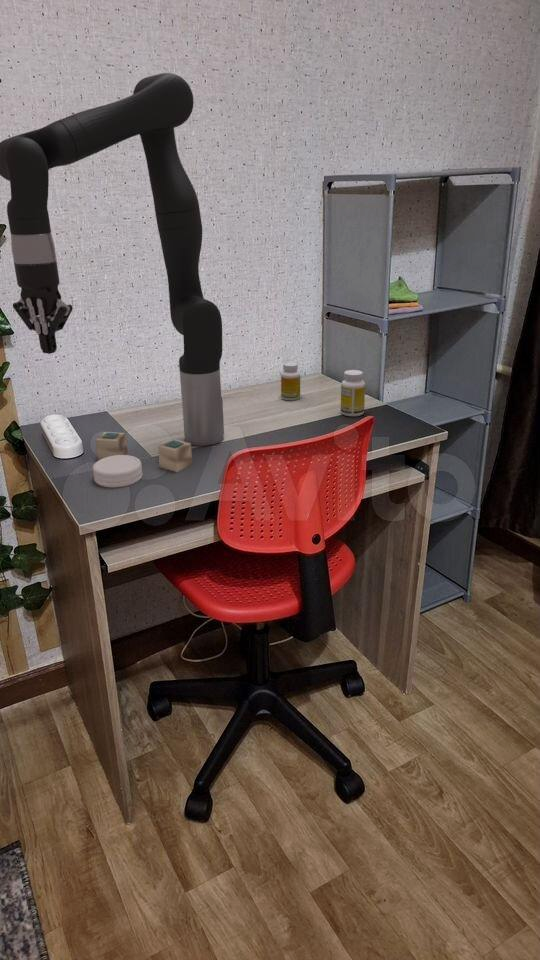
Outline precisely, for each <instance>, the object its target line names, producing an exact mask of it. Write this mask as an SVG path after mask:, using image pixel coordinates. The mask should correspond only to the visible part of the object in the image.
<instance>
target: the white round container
mask: <svg viewBox="0 0 540 960" xmlns="http://www.w3.org/2000/svg"><path fill="white" fill-rule="evenodd" d="M142 465H143V464H142V461H141V460H140V459H139V458H137V457H136V456H134V455H129V454H126V455H115V456H109V457H106V458H103V459H101V460H97V461H96V462H94V464H93V466H92V471H93V480H94V482H95V483H96V484H97V485H98V486H101V487H105V488H123V487H127V486H131V485H133V484H136V483H137V482H138V481H140V480H141V479H142V477H143V467H142Z"/></svg>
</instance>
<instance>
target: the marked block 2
mask: <svg viewBox="0 0 540 960" xmlns="http://www.w3.org/2000/svg"><path fill="white" fill-rule="evenodd" d="M157 449H158V450H157V453H158V461H159V462H158V463H159V468H161V469H165V470H168V471H172V472H176V473H179V472H180V471H183V470H184V469H186V468H188V467H190V466H191V465H193V457H192V445H191V443H187V442H186V441H183V440H180V439H175V438H173V439H171V440H168V441H166V442H164V443H162V444H160V445H158V446H157Z"/></svg>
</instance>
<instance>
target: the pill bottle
mask: <svg viewBox="0 0 540 960" xmlns="http://www.w3.org/2000/svg"><path fill="white" fill-rule="evenodd" d="M363 377H364V372H363V371H362V370H359V369H349V370H345V371H344V373H343V378H344V379H343V380H342V381H341V383H340V413H341V415H343V416H346V417H359V416H361V415H363V414H364V413H365V405H366V404H365V401H366V399H365V397H366V382H365V380H364V379H363Z"/></svg>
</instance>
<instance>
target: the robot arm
mask: <svg viewBox="0 0 540 960" xmlns="http://www.w3.org/2000/svg"><path fill="white" fill-rule="evenodd" d="M136 83H137V84H136V85H135V87H134V88H133V89H134V90H133V93H132V94H131V95H130V96H127V97H124V98H122V99H119V100H117V101H116V100H115V101H114V102H110V103H107V104H105V105H100V106H97V107H93V108H90V109H86V110H83V111H79V112H77V113H74V114H71V115H69V116H66V117H64V118H61V119H59V120H56V121H53V122H50V124H47V125H46V126H43V127H41V128H37V129H34V130H30V131H27V132H23V133H21V134H17V135H14V136H10V137H9V138H6V139H4V140H2V141H1V142H0V176H1V178H3V179H4V180H6V181H9V184H10V199H9V201H8V202H7V205H6V214H7V218H8V219H7V220H8V225H9V231H10V242H11V243H10V244H11V245H10V246H11V254H12V258H13V265H14V271H15V277H16V283H17V286H18V287H19V288H21V291H20V298H19V300H18V301H16V302H14V303H12V308H13V310H14V311H15V312H16V314H18V316H19V318H20V319H21V320H22V322H23V323H24V324H25V326H26V327H27V329H28V330H30V331H35V332H36V334H37V335H38V340H39V341H38V342H39V348H40V349H41V352H42V354H49V355H51V354H54V353H55V352H56V351H57V349H58V346H57V345H58V344H57V340H56V339H57V338H56V332H59V331H61V330H63V329H64V327H65V325H66V323H67V321H68V319H69V317H70V315H71V313H72V311H73V309H74V308H73V305H72V304H70V303H69V304H67V303H65V302H64V301H63V300H62V295H61V293H60V291H59V285H60V282H61V281H60V276H59V270H58V269H59V267H58V261H57V254H56V248H55V247H56V246H55V243H54V240H53V236H52V230H51V229H52V228H51V222H50V214H49V210H48V201H49V183H50V182H49V179H50V178H49V170H51V169H53V168H56V167H64V166H68V165H71V164H74V163H77V162H79V161H81V160H84V159H85V158H86V159H87V158H88V157H90V156H93V155H96V154H97V153H99V152H102V151H104V150H106V149H108V148H110V147H112V146H115V145H117V144H119V143H121V142H123V141H126V140H129V139H131V138H133V137H135V136H138V135H139V137H140V141H141V145H142V148H143V151H144V155H145V160H146V165H147V172H148V176H149V182H150V189H151V192H152V199H153V204H154V205H153V206H154V207H153V208H154V213H155V220H156V224H157V226H156V227H157V231H158V236H159V239H160V244H161V251H162V256H163V261H164V267H165V271H166V275H167V276H166V277H167V283H168V296H169V298H168V299H169V311H170V320H171V323H172V325H173V328H175V329H174V330H175V331H176V332H177V333H179V334H180V335H182V337H183V354H182V355H181V356H179V359H178V368H179V378H180V381H179V382H180V390H181V391H180V393H181V406H182V407H181V408H182V419H183V435H184V442H187V443H191V446H196V447H197V446H203V447H204V446H212V445H216V444H218V443H221V442H222V441H223V440H224V435H225V426H224V425H225V424H224V409H223V408H224V407H223V406H224V405H223V404H224V403H223V397H222V384H221V360H222V357H223V322H222V315H221V311H220V309H219V307H218V306H217V305H216V304H215V303H214V302H212V301H210V300H208V299H206V298H204V294H203V289H202V284H201V279H200V272H199V271H200V269H199V265H200V256H201V250H202V243H203V222H202V215H201V210H200V209H201V207H200V202H199V198H198V195H197V192H196V191H195V190H196V189H195V188H194V185H193V184H192V181H191V179H190V177H189V176H188V174H187V172H186V170H185V168H184V166H183V164H182V161H181V157H180V156H179V153H178V148H177V141H176V135H175V128H178V127H180V126H182V125H183V124H185V123H186V122H187V120H188V119H190V117H191V115H192V112H193V109H194V104H195V103H194V102H195V101H194V94H193V91H192V89H191V86H190V85H189V83H188V82H187V81H186V80H185V79H184V78H182V76H180V75H178V74H175V73H171V72H162V73H158V74H154V75H149V76H147V77H144V78H142V79H141V80H139V81H138V82H136Z"/></svg>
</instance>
